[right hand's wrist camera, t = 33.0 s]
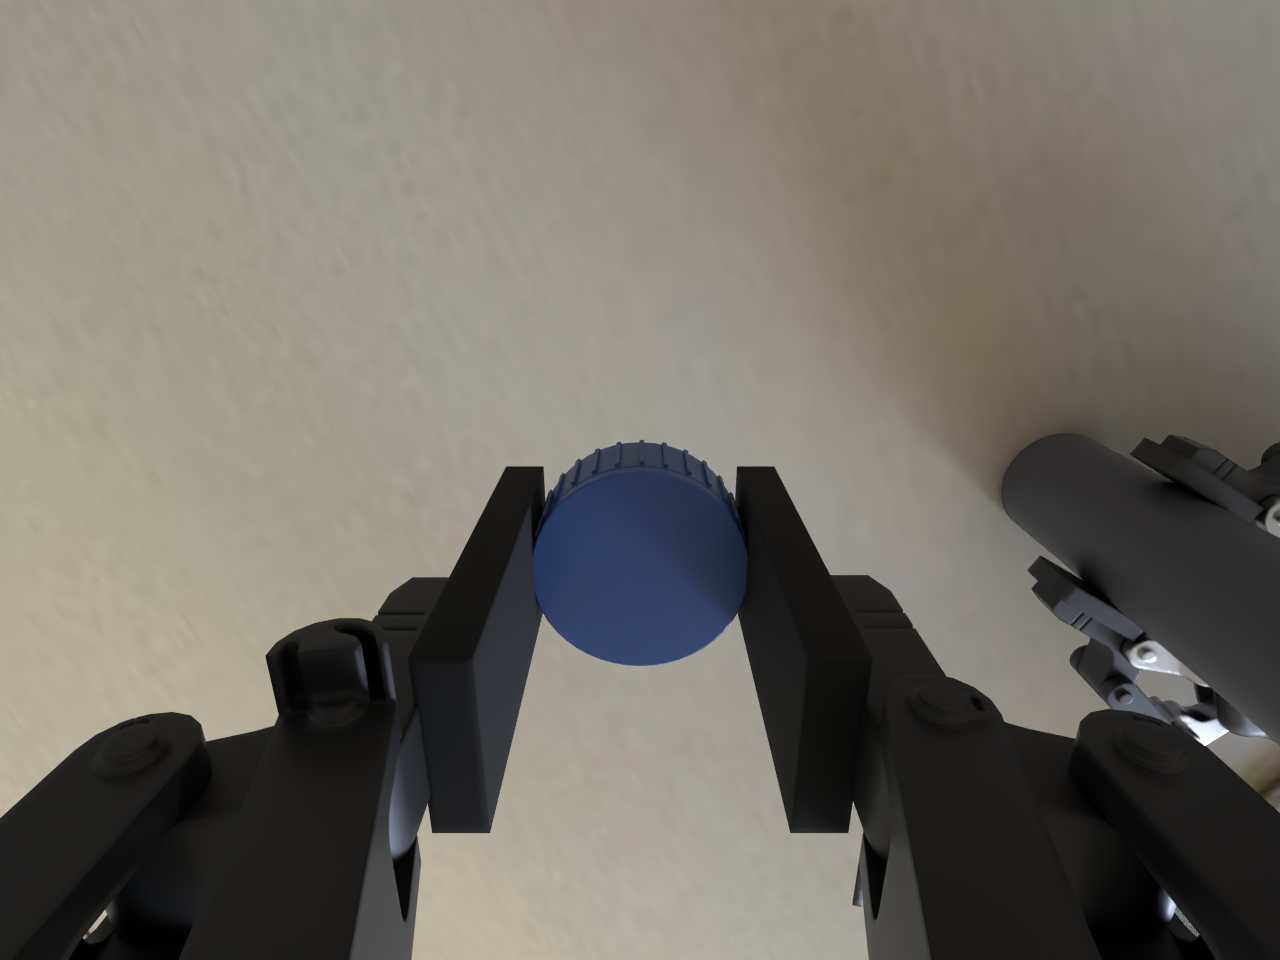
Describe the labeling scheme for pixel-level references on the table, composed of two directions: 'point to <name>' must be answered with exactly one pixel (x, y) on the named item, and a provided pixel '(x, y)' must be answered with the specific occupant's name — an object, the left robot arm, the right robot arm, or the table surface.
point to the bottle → (1161, 563)
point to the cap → (640, 555)
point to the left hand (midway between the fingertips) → (1098, 517)
